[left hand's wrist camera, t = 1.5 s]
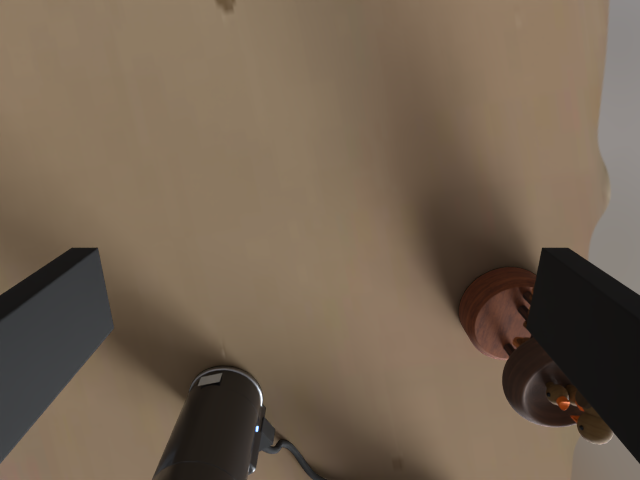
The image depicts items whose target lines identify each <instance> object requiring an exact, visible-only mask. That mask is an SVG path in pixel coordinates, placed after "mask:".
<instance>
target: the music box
mask: <svg viewBox="0 0 640 480" xmlns="http://www.w3.org/2000/svg"><path fill="white" fill-rule="evenodd" d="M535 281H536V275H535V274H533V273H532V272H530V271H528V270H525V269H522V268H516V267H504V268H499V269H495V270H492V271H489V272H487V273H485V274H483V275H482V276H480V277H479V278H477V279H476V280H475V281H474V282H473V283H472V284H471V285H470V286H469V287H468V288H467V290H466V291H465V293H464V294H463V296H462V299H461V302H460V306H459V318H460V322H461V324H462V326H463V328H464V330H465V332H466V333H467V335H468V337H469V338H470V340H471V342H472V343H473V345H474V346H475V347H476V348H477V349H478V350H479V351H480V352H481V353H483V354H485V355H487V356H489V357H491V358H495V359H500V360H507V362H506V364H505V367H504V370H503V376H502V384H503V390H504V393H505V396H506V398H507V400H508V402H509V404H510V405H511V406H512V408H513V409H514V410H515V411H516V412H517V413H518V414H519V415H521V416H522V417H523V418H525V419H527V420H528V421H530V422H533V423H535V424H538V425H542V426H547V427H565V426H571V425H574V424H577V428H578V431H579V433H580V434H581V436H582V437H583V438H584V439H586V440H587V441H589V442H591V443H594V444H605V443H607V442H608V441H610V440H611V438H612V436H613V431H612V430H611V429H610V428H609V426H608V425H607V424H606V423H605V422H604V421H603V419H602V418H601V417H600V416H599V415H598V413H597V412H596V411H595V410H594V409H593V407H592V406H591V405H590V404H589V403H588V401H587V400H586V399H585V398H584V397H583V396H582V394H581V393H580V392H579V391H578V390H577V388H576V387H575V386H574V385H573V384H572V382H571V381H570V380H569V379H568V378H567V376H566V375H565V374H564V373H563V372H562V371H561V369H560V368H559V367H558V366H557V365H556V363H555V362H554V361H553V360H552V359H551V357H550V356H549V355H548V354H547V353H546V352H545V350H544V349H543V348H542V347H541V346H540V344H539V343H538V342H537V341H536V340H535V338H534V337H533V336H532V335H531V334H530V332H529V331H528V330H527V329H526V326H527V321H528V316H529V311H530V306H531V301H532V296H533V291H534V286H535Z"/></svg>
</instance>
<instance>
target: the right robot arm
mask: <svg viewBox="0 0 640 480" xmlns="http://www.w3.org/2000/svg"><path fill="white" fill-rule="evenodd" d="M262 401H263V394H262V390H261V387H260V385H259V384H258V382H257V381H256V380H255V379H254V377H252V376H251V375H250V374H249V373H247V372H245V371H243V370H241V369H238V368H235V367H230V366H217V367H212V368H209V369H207V370H205V371H203V372H201V373H200V374H199V375H198V376H197V377H196V378H195V379H194V381H193V382H192V385H191V387H190V390H189V394H188V396H187V399H186V401H185V403H184V405H183V408H182V410H181V412H180V415H179V417H178V419H177V422H176V424H175V426H174V429H173V431H172V434H171V436H170V438H169V441H168V443H167V445H166V448H165V450H164V452H163V455H162V457H161V460H160V462H159V464H158V467H157V469H156V471H155V474H154V476H153V478H152V480H247V478H248V475H249V474H251V473H253V472H254V471H255V469H256V465H257V459H258V453H259V451H261V450H262V451H264V452H266V453H270V454H275V453H278V452H279V451H280V449H281V448H282V447H285V448H287V449H288V450H290V451H291V452H292V453H293V455H294V456H295V458H296V459H297V461H298V462H299V464H300V465H301V467H302V468H303V469H304V471H305V472H306V473H307V474H308V475H309V476H310V477H311V478H312V479H313V480H327V479H324V478H323V477H321V476H319V475H318V474H316V473H315V472H314V471H313V470H312V469H311V468H310V467H309V465H308V464H307V463H306V461H305V460H304V458H303V457H302V455H301V454H300V453H299V452H298V450H297V449H296V448H295V447H294V446H293V444H291V443H290V442H288V441H286V440H279V441H278V442H277V444H276V445H275V446H274V447H273V446H271V445H273V441H274V433H275V428H274V427H273V426H272V425H271V424H270V423H269V422H268V421H267V420H266V418H265V411H266V407H265V406H264V405H263V404H262Z"/></svg>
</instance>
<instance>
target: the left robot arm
mask: <svg viewBox="0 0 640 480" xmlns="http://www.w3.org/2000/svg"><path fill="white" fill-rule="evenodd" d="M113 329H114V326H113V321H112V316H111V311H110V306H109V301H108V296H107V291H106V286H105V281H104V276H103V271H102V266H101V261H100V256H99V251H98V248H71V249H69V250H68V251H66V252H65V253H63V254H62V255H60V256H59V257H57V258H56V259H54V260H53V261H51V262H50V263H48V264H47V265H45V266H44V267H42V268H41V269H39V270H38V271H36V272H35V273H33V274H32V275H30V276H29V277H27V278H26V279H24V280H23V281H21V282H20V283H18V284H17V285H15V286H14V287H12V288H11V289H9V290H8V291H6V292H5V293H3V294H2V295H0V463H1V462H2V461H3V460H4V459H5V457H6V456H7V455H8V454H9V453H10V451H11V450H12V449H13V448H14V447H15V446H16V444H17V443H18V442H19V441H20V440H21V438H22V437H23V436H24V435H25V434H26V432H27V431H28V430H29V429H30V428H31V426H32V425H33V424H34V423H35V422H36V421H37V419H38V418H39V417H40V416H41V415H42V413H43V412H44V411H45V410H46V409H47V407H48V406H49V405H50V404H51V403H52V401H53V400H54V399H55V398H56V397H57V396H58V394H59V393H60V392H61V391H62V390H63V388H64V387H65V386H66V385H67V384H68V382H69V381H70V380H71V379H72V378H73V376H74V375H75V374H76V373H77V372H78V371H79V369H80V368H81V367H82V366H83V365H84V363H85V362H86V361H87V360H88V359H89V357H90V356H91V355H92V354H93V353H94V352H95V350H96V349H97V348H98V347H99V346H100V344H101V343H102V342H103V341H104V340H105V338H106V337H107V336H108V335H109V334H110V332H111V331H112V330H113ZM526 329H527V330H528V331H529V332H530V334H531V335H532V336H533V337H534V338H535V340H536V341H537V342H538V343H539V344H540V346H541V347H542V348H543V349H544V350H545V352H546V353H547V354H548V355H549V356H550V357H551V359H552V360H553V361H554V362H555V363H556V365H557V366H558V367H559V368H560V369H561V371H562V372H563V373H564V374H565V375H566V376H567V378H568V379H569V380H570V381H571V382H572V384H573V385H574V386H575V387H576V388H577V390H578V391H579V392H580V393H581V394H582V396H583V397H584V398H585V399H586V400H587V401H588V403H589V404H590V405H591V406H592V407H593V409H594V410H595V411H596V412H597V413H598V415H599V416H600V417H601V418H602V419H603V421H604V422H605V423H606V424H607V425H608V426H609V428H610V429H611V430H612V431H613V432H614V434H615V435H616V436H617V437H618V438H619V440H620V441H621V442H622V443H623V444H624V446H625V447H626V448H627V449H628V450H629V451H630V453H631V454H632V455H633V456H634V457H635V459H636V460H637V461H638V462H639V463H640V295H638V294H637V293H635V292H634V291H632V290H631V289H629V288H628V287H626V286H625V285H623V284H622V283H620V282H619V281H617V280H616V279H614V278H613V277H611V276H610V275H608V274H607V273H605V272H604V271H602V270H601V269H599V268H598V267H596V266H595V265H593V264H592V263H590V262H589V261H587V260H586V259H584V258H583V257H581V256H580V255H578V254H577V253H575V252H574V251H572V250H571V249H569V248H542V251H541V256H540V261H539V266H538V271H537V276H536V281H535V286H534V291H533V296H532V301H531V306H530V311H529V316H528V321H527V326H526Z"/></svg>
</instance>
